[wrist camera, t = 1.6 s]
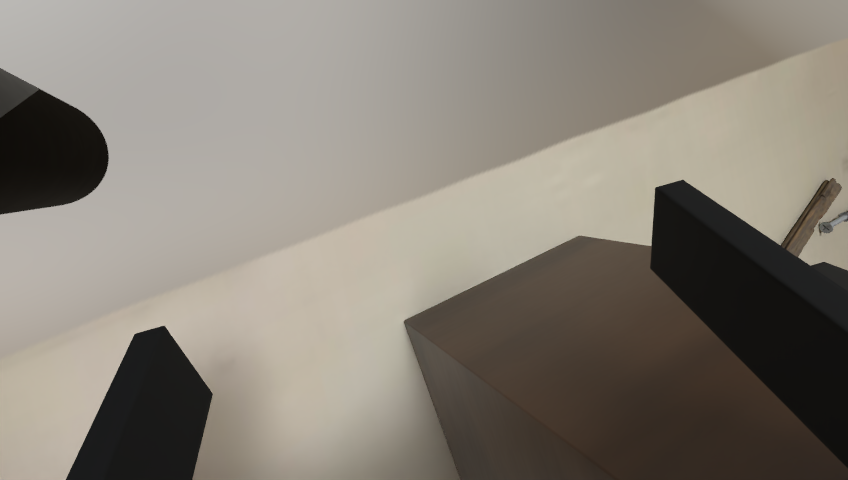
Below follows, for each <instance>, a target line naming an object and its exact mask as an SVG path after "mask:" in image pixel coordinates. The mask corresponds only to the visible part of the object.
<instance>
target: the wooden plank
mask: <svg viewBox="0 0 848 480" xmlns="http://www.w3.org/2000/svg"><path fill="white" fill-rule="evenodd" d="M835 180H836V179H834V178H832V179H831V180H830V181H828V180H825V182H824V183H823V185H822V186H821V188H820V189H819V191H818V192H817V194H816V195H815V197H814V198H813V199H812V201H811V203H810V204H809V206H808V207H807V208H806V209H805V211H804V213H803V214H802V216H801V217H800V218H799V220H798V222H797V223H796V224H795V226H794V227H793V229H792V230H791V232H790V233H789V234H788V236H787V238H786V239H785V241H784V242H783V244H782V245H781V246H782V247H783V248H785V249H786V250H788V251H789V252H791V253H792V254H793V255H795V256H796V257H798V256H799V255H800V253H801V251H802V249H803V247H804V246H805V244H806V243H807V242H808V240H809V238H810V237H811V235H812V234H813V232H814V227H815V226H816V224H817V223H818V220H819V219H821V218H822V216H823V215H824V214H825V213H826V212H827V210H828V209H829V207H830V206H831V204H832V202H833V201H834V200H835V198H836V197H837V195H838V194H839V192H840V191H841V188H842V187H841V185H840V184H839V183H837V182H836V181H835Z"/></svg>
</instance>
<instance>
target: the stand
mask: <svg viewBox="0 0 848 480" xmlns="http://www.w3.org/2000/svg"><path fill="white" fill-rule="evenodd" d="M651 248H652V246H645V245H638V244H632V243H625V242H618V241H612V240H605V239H598V238H591V237H585V236H578V237H576V238H574V239H572V240H570V241H567V242H565V243H563V244H561V245H559V246H557V247H555V248H553V249H551V250H549V251H547V252H545V253H543V254H541V255H539V256H537V257H535V258H532V259H530V260H528V261H526V262H524V263H522V264H520V265H518V266H516V267H514V268H512V269H510V270H508V271H506V272H504V273H502V274H500V275H497V276H495V277H493V278H491V279H489V280H487V281H485V282H483V283H481V284H479V285H477V286H475V287H473V288H471V289H469V290H467V291H465V292H462V293H460V294H458V295H456V296H454V297H452V298H450V299H448V300H446V301H444V302H442V303H440V304H438V305H436V306H434V307H432V308H430V309H428V310H425V311H423V312H421V313H419V314H417V315H415V316H413V317H411V318H409V319H407V320H405V321H404V323H405V325H406V328H407V331H408V334H409V337H410V339H411V342H412V345H413V348H414V351H415V353H416V356H417V359H418V362H419V365H420V367H421V370H422V373H423V376H424V379H425V381H426V384H427V387H428V390H429V393H430V395H431V398H432V401H433V404H434V407H435V409H436V412H437V415H438V418H439V421H440V423H441V426H442V429H443V432H444V435H445V437H446V440H447V443H448V446H449V449H450V451H451V454H452V457H453V460H454V463H455V465H456V468H457V471H458V474H459V477H460V479H461V480H848V468H847V467H846V466H845V465H844V464H843V463H842V462H841V461H840V460H839V459H838V458H837V457H836V456H835V455H834V454H833V453H832V452H831V451H830V450H829V449H828V448H827V447H826V446H825V445H824V444H823V443H822V442H821V441H820V440H819V439H818V438H817V437H816V436H815V435H814V434H813V433H812V432H811V431H810V430H809V429H808V428H807V427H806V426H805V425H804V424H803V423H802V422H801V421H800V420H799V419H798V418H797V417H796V416H795V415H794V413H793V412H792V411H791V410H790V409H789V408H788V407H787V406H786V405H785V404H784V403H783V402H782V401H781V400H780V399H779V398H778V397H777V396H776V395H775V394H774V393H773V392H772V391H771V390H770V389H769V388H768V387H767V386H766V385H765V384H764V383H763V382H762V381H761V380H760V379H759V378H758V377H757V376H756V375H755V374H754V373H753V372H752V371H751V370H750V369H749V368H748V367H747V366H746V365H745V364H744V363H743V362H742V361H741V360H740V359H739V358H738V357H737V356H736V355H735V354H734V353H733V352H732V351H731V350H730V349H729V348H728V347H727V346H726V345H725V344H724V343H723V342H722V341H721V340H720V339H719V338H718V337H717V336H716V335H715V334H714V333H713V332H712V331H711V330H710V328H709V327H708V326H707V325H706V324H705V323H704V322H703V321H702V320H701V319H700V318H699V317H698V316H697V315H696V314H695V313H694V312H693V311H692V310H691V309H690V308H689V307H688V306H687V305H686V304H685V303H684V302H683V301H682V300H681V299H680V298H679V297H678V296H677V295H676V294H675V293H674V292H673V291H672V290H671V289H670V288H669V287H668V286H667V285H666V284H665V283H664V282H663V281H662V280H661V279H660V278H659V277H658V276H657V275H656V274H655V273H654V272H653V271H652V270H651V269H650V263H651Z"/></svg>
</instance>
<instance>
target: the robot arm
mask: <svg viewBox="0 0 848 480" xmlns="http://www.w3.org/2000/svg"><path fill="white" fill-rule="evenodd" d="M650 269H651V270H652V271H653V272H654V273H655V274H656V275H657V276H658V277H659V278H660V279H661V280H662V281H663V282H664V283H665V284H666V285H667V286H668V287H669V288H670V289H671V290H672V291H673V292H674V293H675V294H676V295H677V296H678V297H679V298H680V299H681V300H682V301H683V302H684V303H685V304H686V305H687V306H688V307H689V308H690V309H691V310H692V311H693V312H694V313H695V314H696V315H697V316H698V317H699V318H700V319H701V320H702V321H703V322H704V323H705V324H706V325H707V326H708V327H709V328H710V330H711V331H712V332H713V333H714V334H715V335H716V336H717V337H718V338H719V339H720V340H721V341H722V342H723V343H724V344H725V345H726V346H727V347H728V348H729V349H730V350H731V351H732V352H733V353H734V354H735V355H736V356H737V357H738V358H739V359H740V360H741V361H742V362H743V363H744V364H745V365H746V366H747V367H748V368H749V369H750V370H751V371H752V372H753V373H754V374H755V375H756V376H757V377H758V378H759V379H760V380H761V381H762V382H763V383H764V384H765V385H766V386H767V387H768V388H769V389H770V390H771V391H772V392H773V393H774V394H775V395H776V396H777V397H778V398H779V399H780V400H781V401H782V402H783V403H784V404H785V405H786V406H787V407H788V408H789V409H790V410H791V411H792V412H793V413H794V415H795V416H796V417H797V418H798V419H799V420H800V421H801V422H802V423H803V424H804V425H805V426H806V427H807V428H808V429H809V430H810V431H811V432H812V433H813V434H814V435H815V436H816V437H817V438H818V439H819V440H820V441H821V442H822V443H823V444H824V445H825V446H826V447H827V448H828V449H829V450H830V451H831V452H832V453H833V454H834V455H835V456H836V457H837V458H838V459H839V460H840V461H841V462H842V463H843V464H844V465H845V466H846V467H847V468H848V271H847V270H845V269H842V268H839V267H836V266H834V265H831V264H828V263H825V262H822V263H819V264H815V265H812V266H810V265H808V264H807V263H805V262H804V261H802V260H801V259H799V258H798V257H796V256H795V255H793V254H792V253H791V252H789V251H788V250H786V249H785V248H783V247H782V246H780V245H779V244H777V243H776V242H774V241H773V240H771V239H770V238H768V237H767V236H765V235H764V234H762V233H761V232H759V231H758V230H756V229H755V228H753V227H752V226H750V225H749V224H748V223H746V222H745V221H743V220H742V219H740V218H739V217H737V216H736V215H734V214H733V213H731V212H730V211H728V210H727V209H725V208H724V207H722V206H721V205H719V204H718V203H716V202H715V201H713V200H712V199H710V198H709V197H707V196H706V195H704V194H703V193H702V192H700V191H699V190H697V189H696V188H694V187H693V186H691V185H690V184H688V183H687V182H685V181H684V180H681V181H677V182H674V183H670V184H666V185H663V186H659V187H656V188H655V202H654V218H653V233H652V248H651V263H650ZM212 395H213V394H212V392H211V391H210V389H209V388H208V387H207V385H206V384H205V382H204V381H203V379H202V378H201V377H200V375H199V374H198V372H197V371H196V370H195V368H194V367H193V365H192V364H191V363H190V361H189V360H188V358H187V357H186V356H185V354H184V353H183V351H182V350H181V348H180V347H179V346H178V344H177V343H176V341H175V340H174V339H173V337H172V336H171V334H170V333H169V332H168V330H167V329H166V327H165V326H161V327H158V328H154V329H151V330H147V331H144V332H140V333H136V334H135V335H134V337H133V339H132V341H131V343H130V345H129V347H128V349H127V352H126V354H125V356H124V358H123V360H122V362H121V364H120V366H119V368H118V371H117V373H116V375H115V377H114V379H113V381H112V383H111V385H110V388H109V390H108V392H107V394H106V396H105V398H104V400H103V402H102V404H101V407H100V409H99V411H98V413H97V415H96V417H95V419H94V421H93V424H92V426H91V428H90V430H89V432H88V434H87V436H86V438H85V440H84V443H83V445H82V447H81V449H80V451H79V453H78V455H77V457H76V459H75V462H74V464H73V466H72V468H71V470H70V472H69V474H68V476H67V479H66V480H192V478H193V474H194V470H195V466H196V462H197V458H198V453H199V449H200V445H201V441H202V437H203V433H204V428H205V424H206V420H207V416H208V412H209V408H210V403H211V399H212Z"/></svg>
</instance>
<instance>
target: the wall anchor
mask: <svg viewBox="0 0 848 480" xmlns="http://www.w3.org/2000/svg"><path fill="white" fill-rule="evenodd" d="M842 221H848V212H846V213H841V214H840V216H839V218H837V219H835V220H833V221H832V222H830V223H828V222H823V223H821V224H820V226H819V228H820V230H821V231H822V232H824V233H830V232H832V231H833V227H834V226H835V225H837V224H839V223H841V222H842Z"/></svg>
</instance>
